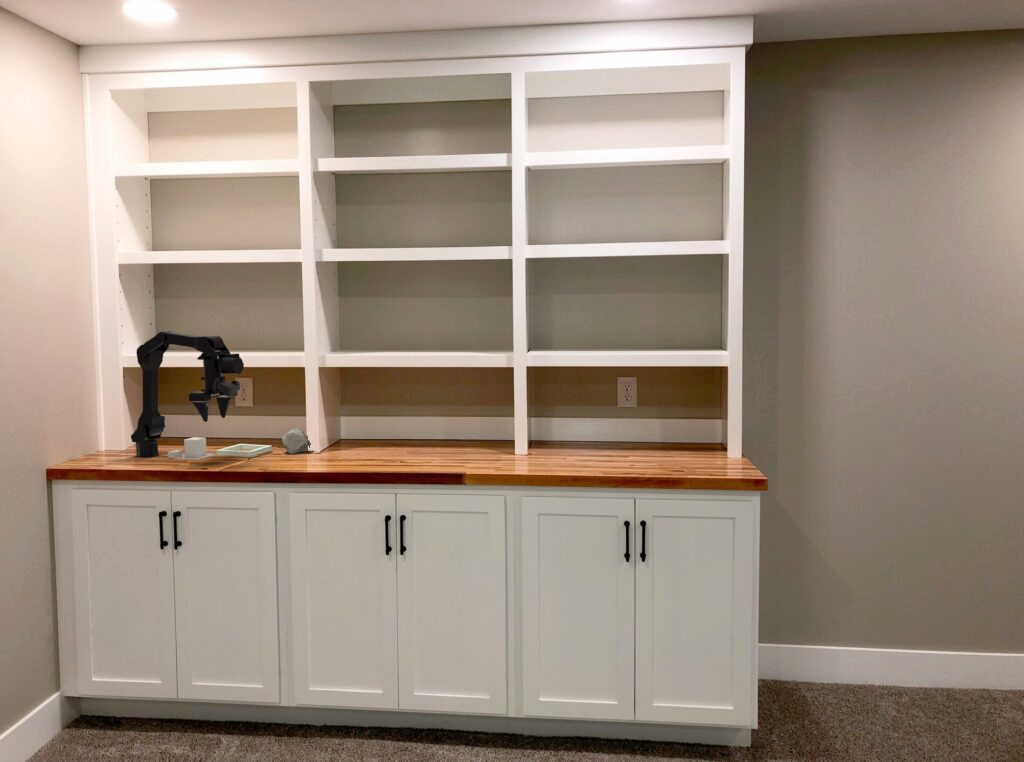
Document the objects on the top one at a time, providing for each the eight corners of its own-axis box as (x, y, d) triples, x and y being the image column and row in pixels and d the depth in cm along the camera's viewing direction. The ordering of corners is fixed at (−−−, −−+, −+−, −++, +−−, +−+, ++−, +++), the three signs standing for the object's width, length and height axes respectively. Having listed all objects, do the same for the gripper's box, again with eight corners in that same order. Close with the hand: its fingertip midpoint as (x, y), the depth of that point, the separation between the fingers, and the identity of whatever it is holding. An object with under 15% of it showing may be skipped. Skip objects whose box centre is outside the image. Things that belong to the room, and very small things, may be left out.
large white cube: (184, 456, 290) (184, 439, 289) (194, 454, 294) (193, 437, 294) (197, 457, 288) (196, 440, 287) (206, 454, 293) (205, 437, 292)
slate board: (165, 460, 288) (165, 451, 288) (189, 454, 299) (188, 445, 299) (196, 462, 284) (196, 453, 284) (219, 456, 296) (219, 447, 295)
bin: (216, 457, 294) (216, 450, 293) (240, 450, 307) (239, 443, 306) (249, 459, 290) (249, 452, 289) (272, 452, 302) (272, 445, 302)
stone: (300, 422, 306) (285, 426, 297) (319, 441, 305) (305, 445, 295) (285, 441, 308) (270, 445, 299) (304, 460, 307) (290, 464, 297)
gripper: (215, 376, 270) (217, 424, 271) (250, 371, 288) (251, 416, 289) (186, 375, 273) (188, 423, 275) (222, 370, 291) (224, 415, 292)
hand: (214, 419), depth 283 cm, fingers open, 9 cm apart
